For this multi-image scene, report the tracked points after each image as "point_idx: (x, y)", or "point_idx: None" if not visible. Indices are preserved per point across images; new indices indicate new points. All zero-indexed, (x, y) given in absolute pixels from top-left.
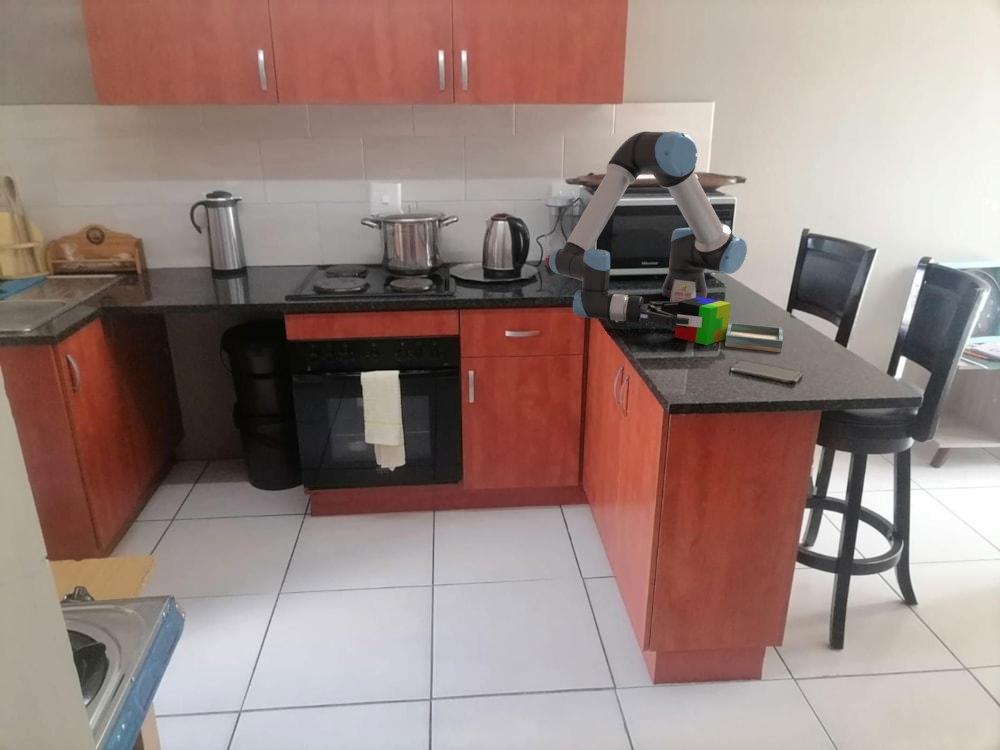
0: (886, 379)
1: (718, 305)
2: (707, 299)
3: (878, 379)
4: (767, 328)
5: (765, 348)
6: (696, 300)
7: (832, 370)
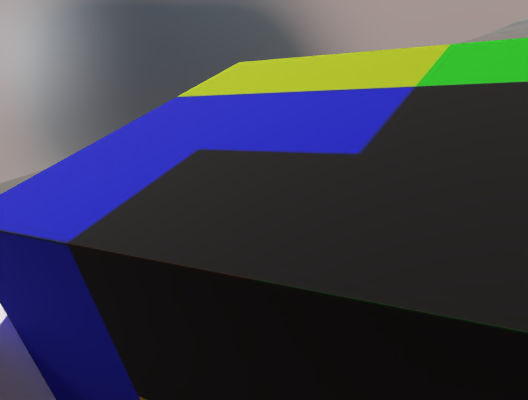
0: (491, 37)
1: (389, 55)
2: (132, 143)
3: (505, 39)
4: None
5: None
6: (232, 177)
7: None
